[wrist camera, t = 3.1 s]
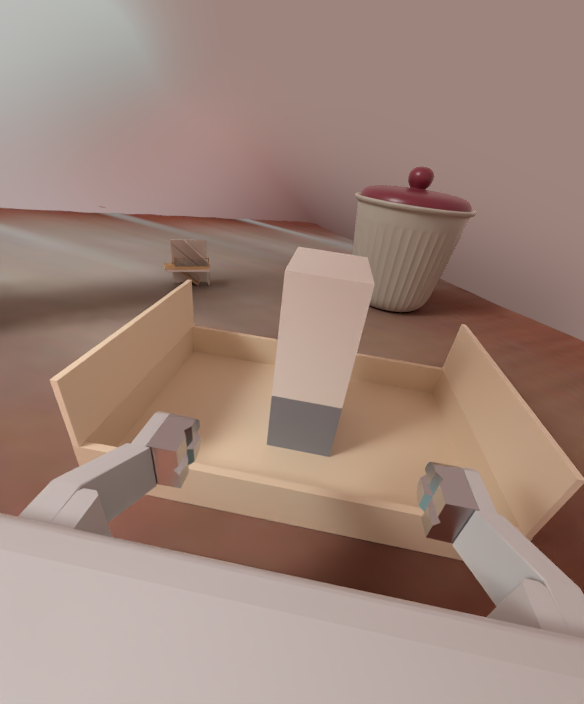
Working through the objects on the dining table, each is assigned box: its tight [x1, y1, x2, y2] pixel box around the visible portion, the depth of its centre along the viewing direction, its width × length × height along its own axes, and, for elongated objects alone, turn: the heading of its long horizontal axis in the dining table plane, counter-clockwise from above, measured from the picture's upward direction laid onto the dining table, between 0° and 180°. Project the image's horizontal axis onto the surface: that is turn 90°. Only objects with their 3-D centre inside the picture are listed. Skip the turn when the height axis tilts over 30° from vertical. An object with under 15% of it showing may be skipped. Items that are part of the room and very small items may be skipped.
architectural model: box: [164, 239, 210, 285], centre depth 51 cm, size 3×7×7 cm, turn 112°
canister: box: [353, 167, 477, 312], centre depth 52 cm, size 18×18×21 cm
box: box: [267, 247, 375, 457], centre depth 24 cm, size 6×5×14 cm
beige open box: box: [50, 279, 584, 561], centre depth 25 cm, size 17×27×8 cm, turn 82°
